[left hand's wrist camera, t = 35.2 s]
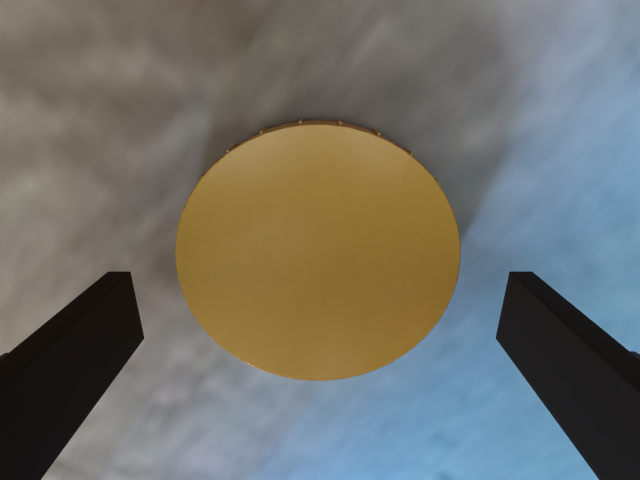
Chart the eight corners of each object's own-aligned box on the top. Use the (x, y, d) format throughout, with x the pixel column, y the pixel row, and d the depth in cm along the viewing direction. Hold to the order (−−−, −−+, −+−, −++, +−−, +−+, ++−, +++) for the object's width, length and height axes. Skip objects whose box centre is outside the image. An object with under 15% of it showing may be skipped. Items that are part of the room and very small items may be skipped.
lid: (503, 217, 15) (525, 233, 13) (349, 389, 18) (352, 417, 17) (273, 53, 12) (266, 48, 11) (147, 285, 16) (128, 307, 14)
